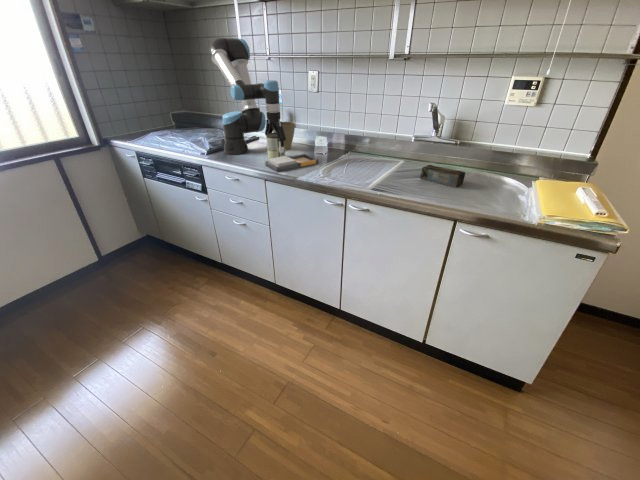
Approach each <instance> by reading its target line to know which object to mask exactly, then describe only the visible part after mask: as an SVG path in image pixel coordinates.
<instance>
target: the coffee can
mask: <svg viewBox="0 0 640 480" xmlns="http://www.w3.org/2000/svg"><path fill="white" fill-rule="evenodd" d="M265 136H266V139H265V140H266V148H267V160H268V159H271V158H276V157H282V156H286V153H285V151H286V150H285V149H284V152H282V153H280V151H279V138H278V135H277V133H274V132H272V133H268V134H266V135H265Z"/></svg>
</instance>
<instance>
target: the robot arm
mask: <svg viewBox="0 0 640 480" xmlns="http://www.w3.org/2000/svg"><path fill="white" fill-rule="evenodd" d="M208 49H209V50H208V54H209V58H210V60H211V62H212V63H213V64H214V65H216V66H217V67H218V70H220V72H221V74H222V76H223V77H224V78H225V80H226V82H227V83H228V85H229V86H230V88H229V92H230V95H231V98H232V100H234V101H240V102H241V105H242V109H241V111H240V110H239V111H238V110H237V111H231V112H226V113H224V114H223V115H222V126H223V132H224V140H225V141H224V146H223V151H224V154H227V155H242V154H243V155H244V154H246V153H248V152H249V147H248V145H247V141H246V139H245V134H249V133H251V134H252V133H258V132H262V131H263V130H264V131H265V132H264V135H265V136H266V134H268V133H274V132H273V129H274V130H275V131H276V133H277V135H278V138H279V151H280V153H282V152H284V140H286V137H285V134H284V130H283V127H282V122H283V121H280V120H281V112H280V111H281V106H280V88H279V82H278V80H269V79H268V80H264V82H262V83H260V82H259V83H254V84H253V83H252V82H251V77H250V74H249V70H248V64H249V61H250V58H251V51H250V46H249V44H248V42H247V41H246V40H244V38H238V37H235V38H233V37H232V38H231V37H217V38H215V39H214V40H213V41H211V43H210V45H209V48H208ZM260 99H261V100H265V109H266V115H265V113H264V112H263V111H261V109H260V107H258V106H257V103H256V100H260Z"/></svg>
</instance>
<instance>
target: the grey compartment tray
mask: <svg viewBox="0 0 640 480" xmlns="http://www.w3.org/2000/svg"><path fill="white" fill-rule="evenodd" d="M318 164H319V159H318V158H316V157H313V156H311V155H309V154H306V153H302V154H296V155H293V156H286V155H285V156H282V157H276V158H271V159H268V158H267V161H265V166H266V167H267V168H269V169H270V170H273V171H275V172H276V173H281V172H285V171H289V170H290V171H291V170H295V169H299V168H304V167H309V166H312V165H313V166H314V165H318Z"/></svg>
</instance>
